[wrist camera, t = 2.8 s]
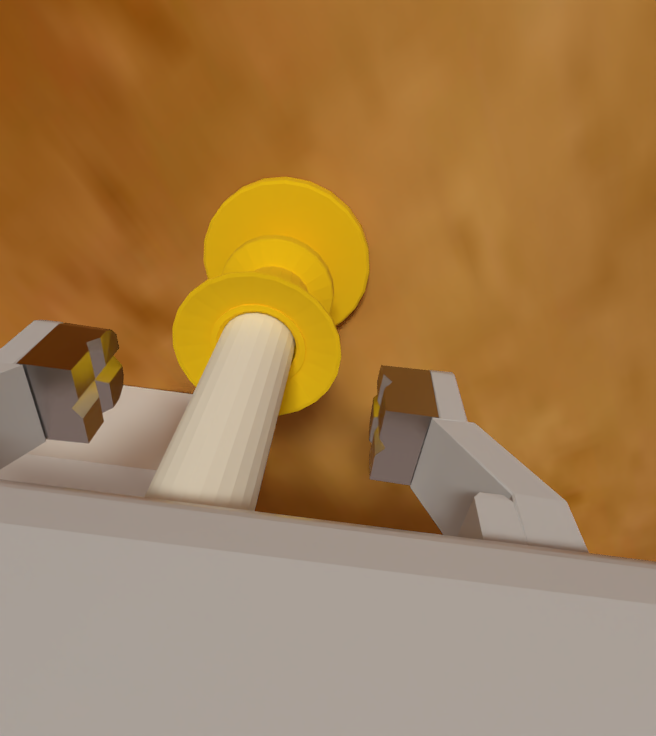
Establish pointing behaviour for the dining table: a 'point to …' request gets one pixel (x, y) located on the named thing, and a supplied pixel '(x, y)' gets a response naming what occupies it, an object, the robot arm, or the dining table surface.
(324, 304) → the candle
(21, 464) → the hole board
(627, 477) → the dining table surface
